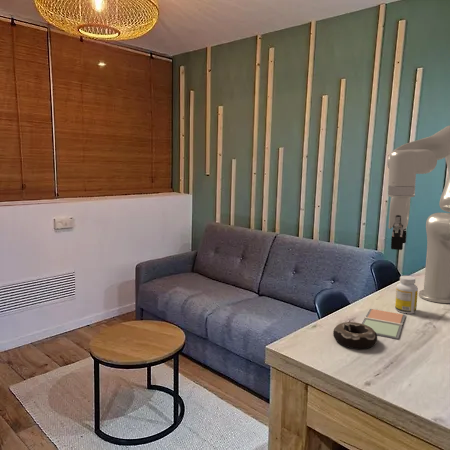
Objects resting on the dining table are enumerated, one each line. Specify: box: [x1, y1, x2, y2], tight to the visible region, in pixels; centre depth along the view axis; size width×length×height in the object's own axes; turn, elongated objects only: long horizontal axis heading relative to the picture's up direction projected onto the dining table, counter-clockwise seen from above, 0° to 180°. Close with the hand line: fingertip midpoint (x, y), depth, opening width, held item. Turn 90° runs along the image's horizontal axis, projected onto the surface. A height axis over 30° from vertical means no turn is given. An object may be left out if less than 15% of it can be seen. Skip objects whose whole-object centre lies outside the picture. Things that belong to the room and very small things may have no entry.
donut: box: [332, 321, 378, 350], centre depth 109 cm, size 12×12×4 cm
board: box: [361, 308, 406, 340], centre depth 122 cm, size 20×11×1 cm, turn 150°
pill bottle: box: [394, 275, 419, 315], centre depth 131 cm, size 6×6×12 cm
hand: (398, 245), depth 123 cm, fingers open, 9 cm apart
